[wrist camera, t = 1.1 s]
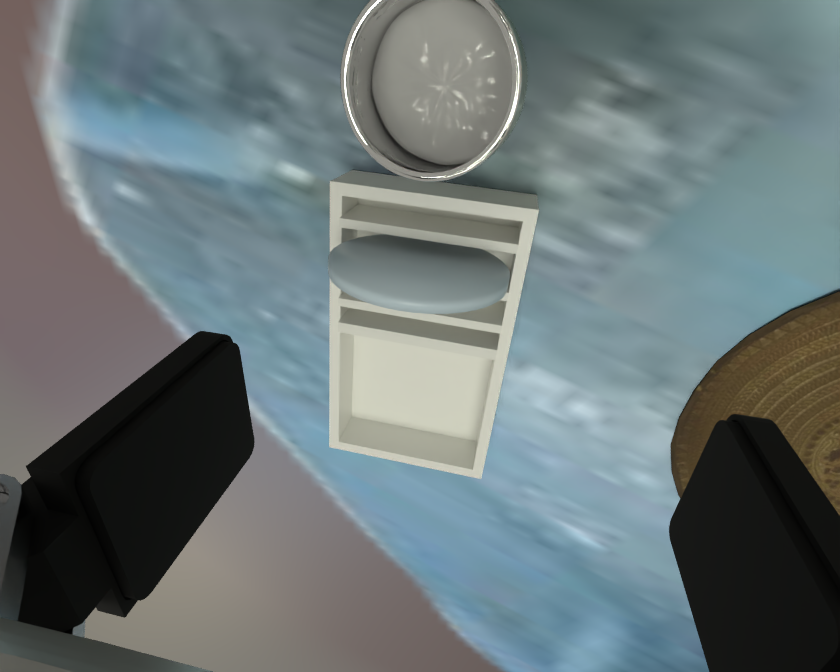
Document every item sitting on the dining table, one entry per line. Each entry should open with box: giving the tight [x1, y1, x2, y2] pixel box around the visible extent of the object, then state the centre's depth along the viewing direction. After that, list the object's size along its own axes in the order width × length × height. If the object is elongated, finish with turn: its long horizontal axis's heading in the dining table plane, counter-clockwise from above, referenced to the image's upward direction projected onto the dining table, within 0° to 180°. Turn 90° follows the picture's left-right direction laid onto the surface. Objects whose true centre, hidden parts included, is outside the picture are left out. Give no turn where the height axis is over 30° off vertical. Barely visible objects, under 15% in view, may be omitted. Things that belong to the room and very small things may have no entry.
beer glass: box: [340, 0, 528, 182], centre depth 23 cm, size 7×7×15 cm
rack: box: [328, 170, 539, 479], centre depth 33 cm, size 22×13×12 cm, turn 175°
